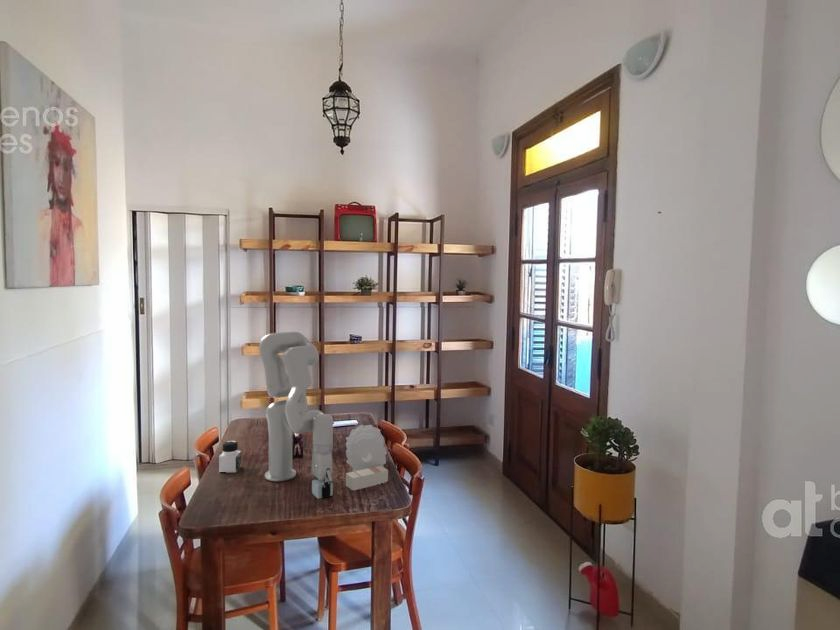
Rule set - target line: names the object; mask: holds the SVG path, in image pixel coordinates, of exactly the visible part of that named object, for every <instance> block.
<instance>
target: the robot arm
mask: <svg viewBox="0 0 840 630" xmlns="http://www.w3.org/2000/svg"><path fill="white" fill-rule="evenodd" d="M258 347H259V348H258V349H259V354H260V358H261V360H262V364H263V368H264V374H265V375H264V377H265V384H266V390H267V394H268V396H269V397H270V398H272V399H273V398H274V399H279V398H284V397H285V398H286V397H287V398H286V399H283V400H278V401H277V400H276V401H274V402H272V403H270V404H269V405H268V406H267V407H266V410H265V417H266V422H267V429H268V470H267V471H266V472H265V473H264V479H265V480H268V481H271V482H284V481H288V480H292V479H294V478H295V477H296V476H297V470H295V469H294V468H293V434H296V435H299V434H303V433H308V432H310V431H312V453H311V455H312V456H311V469H310V471H311V474H312V475H313V476H314V479H313V480H316V479H319V480H322V483H323V487H322V497H323V498H327V497H331V496H330V486H331V482H333V468H334V467H333V455H332V452H334V450H333V447H334V445H333V444H334V443H333V442H334V438H333V437H334V436H333V435H334V434H333V433H334V419H333V418H334V417H333V416H332V415H331V414H328V413H324V412H323V411H321V410H319V409H313V410H309V409H308V399H307V393H306V392H307V391H306V390H307V389H308V388H310V387H311V386H312V384H313V379H312V375H311V371H310V367H309V366H314V365H316V364H318V362H319V359H320V358H319V357H320V356H319V355H320V354H319V351H318V349H317V347H316V346H315V345H314V344H313V342H311V341H310V340H309V339H308V338H307V337H306V336H305V335H304V334H303V333H301V332H298V331H284V332H272V333H268V334H266V335H264V336H262V338H261V340H260V342H259V346H258ZM279 354H283V358H282V356H281V355H279ZM325 477H327V478H325ZM325 480H327V482H326V483H325Z"/></svg>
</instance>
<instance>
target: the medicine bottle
mask: <svg viewBox="0 0 840 630" xmlns="http://www.w3.org/2000/svg"><path fill="white" fill-rule="evenodd" d="M238 445H239V444H238V442H237V441H235V440H228V441H225V442H223V443H222V453H221V454H220V455H219V456H218V473H220V472H226V473H237V472H238V471H239V469H240V468H241V467H242V450H239V447H238Z"/></svg>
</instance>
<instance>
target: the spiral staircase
mask: <svg viewBox="0 0 840 630" xmlns="http://www.w3.org/2000/svg"><path fill="white" fill-rule="evenodd" d="M345 440H346V442H345V447H346V450H345V457H346V458H347V460H346V462H345V463H346V464H348V465H349V466H350V467H351V468H352V470H351V472H353V471H359V470H363V469H368V468H371V467H377V466H382V467H385V466H384V465H386V464H387V459H386V458H387V456H386V455H387V454H388V450H387V448H386V447H385V444H384V443H385V442H386V440H385V437H384V435H382V433H381V429H379V428H378V427H377V428H376V427H375V426H373V424H369V425H363V424H360V425H358V426H357V428H355V429H354V428H353V429H351V431H350V434H349V436H347V437H345Z"/></svg>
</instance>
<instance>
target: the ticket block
mask: <svg viewBox="0 0 840 630" xmlns="http://www.w3.org/2000/svg"><path fill="white" fill-rule="evenodd" d="M387 481H388V482H389V470H388V469H387V468H385V466H383V467H382V466H377V467H371V468H368V469H363V470H359V471H350V472H346V473H345V487H348V488H349V489H350V490H351V491H357V490H361V489H366V488H369V487H373V486H378V485H382V484H381V483H383V484H385V483H384V482H387ZM388 482H387V483H388ZM377 484H378V485H377Z"/></svg>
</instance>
